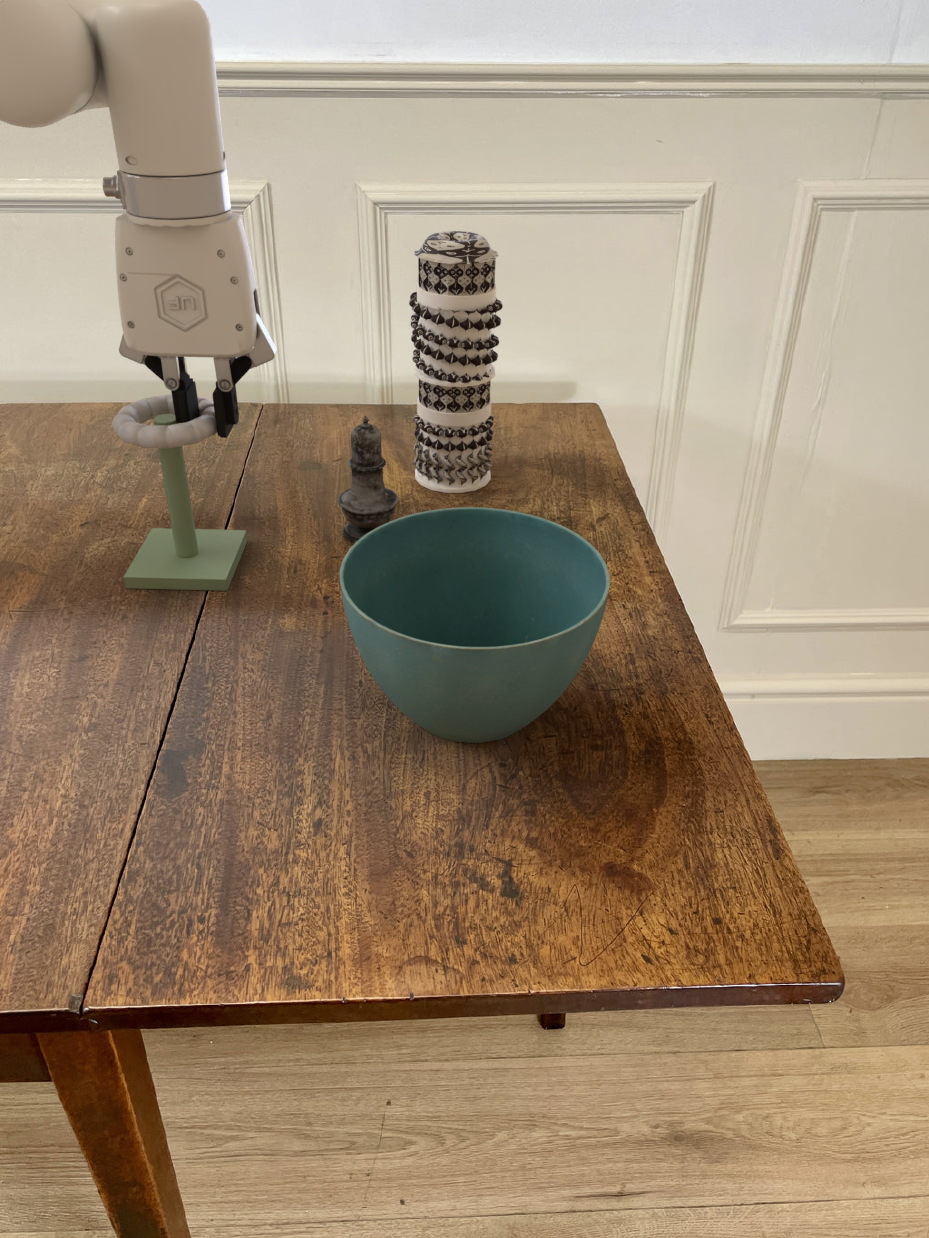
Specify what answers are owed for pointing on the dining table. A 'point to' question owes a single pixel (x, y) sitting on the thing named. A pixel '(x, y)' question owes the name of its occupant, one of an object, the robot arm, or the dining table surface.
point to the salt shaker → (366, 485)
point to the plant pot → (473, 616)
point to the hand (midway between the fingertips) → (209, 429)
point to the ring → (163, 436)
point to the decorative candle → (454, 360)
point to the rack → (184, 539)
